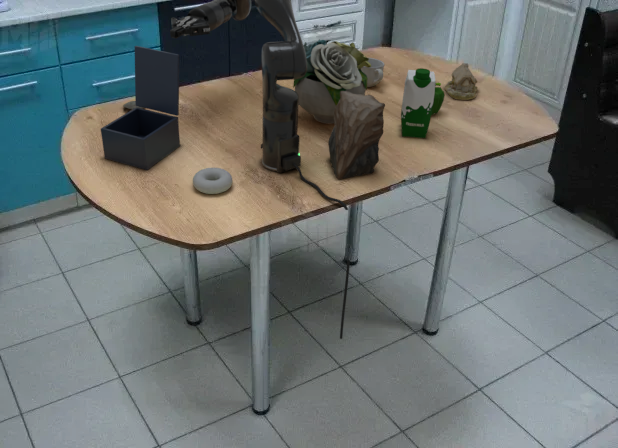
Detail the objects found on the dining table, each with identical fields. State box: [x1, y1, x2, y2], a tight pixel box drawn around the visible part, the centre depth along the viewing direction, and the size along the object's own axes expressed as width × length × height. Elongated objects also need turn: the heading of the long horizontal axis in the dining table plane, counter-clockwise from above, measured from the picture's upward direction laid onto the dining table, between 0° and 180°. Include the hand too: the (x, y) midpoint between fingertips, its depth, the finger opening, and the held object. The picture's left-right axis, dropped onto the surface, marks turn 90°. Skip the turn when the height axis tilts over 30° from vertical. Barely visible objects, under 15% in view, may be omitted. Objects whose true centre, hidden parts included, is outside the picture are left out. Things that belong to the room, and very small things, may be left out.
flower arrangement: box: [292, 39, 371, 125], centre depth 199 cm, size 25×25×24 cm
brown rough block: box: [327, 91, 386, 181], centre depth 176 cm, size 13×13×20 cm
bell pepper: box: [431, 82, 446, 116], centre depth 210 cm, size 8×8×10 cm
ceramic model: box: [444, 62, 478, 101], centre depth 225 cm, size 14×11×10 cm
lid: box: [134, 45, 180, 117], centre depth 180 cm, size 16×14×1 cm
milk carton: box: [400, 67, 437, 139], centre depth 195 cm, size 9×9×20 cm
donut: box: [192, 167, 233, 195], centre depth 169 cm, size 10×4×10 cm
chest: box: [100, 107, 181, 171], centre depth 181 cm, size 16×14×9 cm
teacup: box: [361, 57, 385, 88], centre depth 227 cm, size 14×11×8 cm
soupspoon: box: [122, 100, 144, 110], centre depth 200 cm, size 22×3×7 cm
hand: (173, 34), depth 182 cm, fingers closed
